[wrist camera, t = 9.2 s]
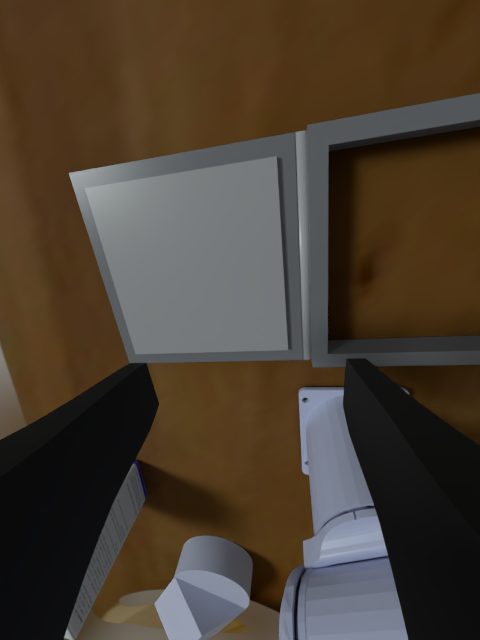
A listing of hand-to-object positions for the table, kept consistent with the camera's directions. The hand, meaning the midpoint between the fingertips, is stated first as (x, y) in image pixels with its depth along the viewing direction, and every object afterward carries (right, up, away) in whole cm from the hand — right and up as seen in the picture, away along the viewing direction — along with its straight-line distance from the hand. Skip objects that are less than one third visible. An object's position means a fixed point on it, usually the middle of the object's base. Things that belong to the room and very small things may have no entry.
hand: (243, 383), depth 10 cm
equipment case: (+4, +6, +8) cm, 11 cm away
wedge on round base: (-4, -29, +25) cm, 39 cm away
